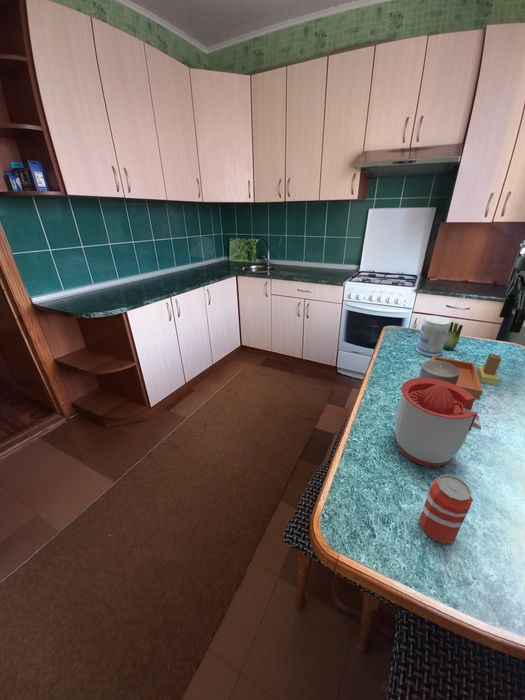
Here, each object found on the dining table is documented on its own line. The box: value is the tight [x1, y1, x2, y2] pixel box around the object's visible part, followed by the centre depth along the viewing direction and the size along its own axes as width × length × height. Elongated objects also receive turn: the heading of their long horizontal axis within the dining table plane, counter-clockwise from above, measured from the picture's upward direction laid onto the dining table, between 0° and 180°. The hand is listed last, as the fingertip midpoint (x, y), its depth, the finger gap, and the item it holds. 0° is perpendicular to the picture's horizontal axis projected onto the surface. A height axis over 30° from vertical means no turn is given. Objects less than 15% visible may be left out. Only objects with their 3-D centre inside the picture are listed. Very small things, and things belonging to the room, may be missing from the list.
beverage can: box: [418, 474, 473, 544], centre depth 54 cm, size 6×6×12 cm
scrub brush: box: [476, 353, 502, 387], centre depth 101 cm, size 5×8×9 cm, turn 153°
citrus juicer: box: [394, 377, 483, 468], centre depth 69 cm, size 16×17×20 cm
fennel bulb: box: [443, 321, 464, 351], centre depth 122 cm, size 6×5×12 cm
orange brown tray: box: [431, 356, 483, 400], centre depth 102 cm, size 14×20×3 cm
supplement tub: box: [415, 315, 452, 357], centre depth 118 cm, size 10×10×15 cm
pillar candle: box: [418, 359, 460, 385], centre depth 87 cm, size 10×10×15 cm
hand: (508, 324), depth 94 cm, fingers open, 13 cm apart
